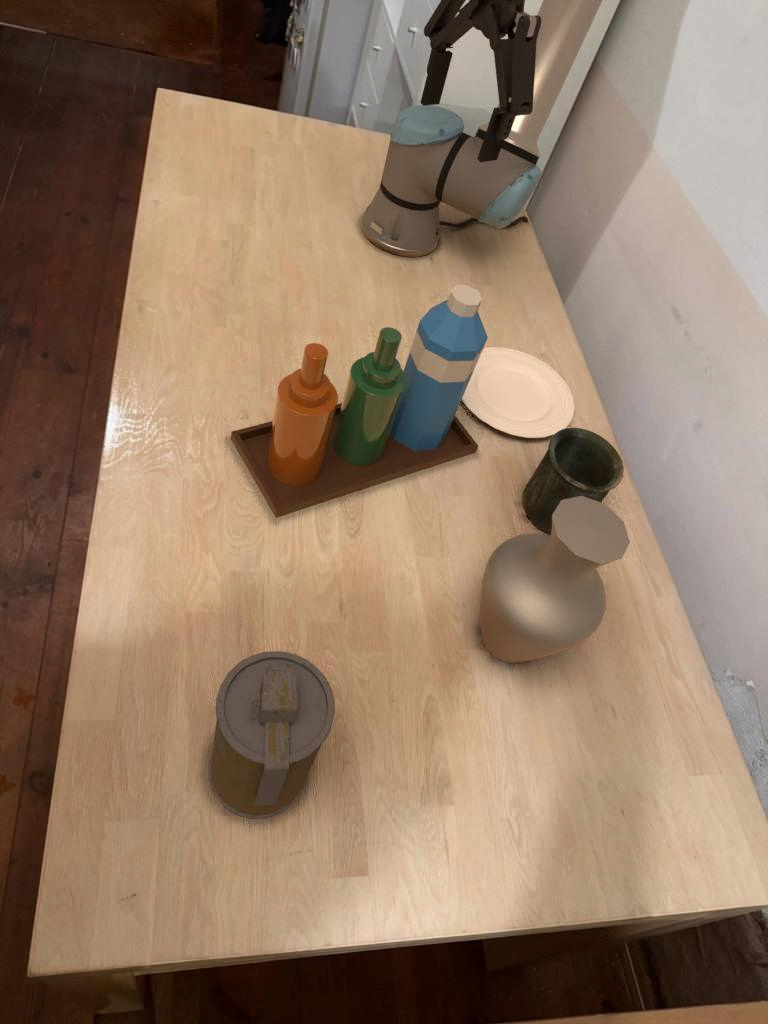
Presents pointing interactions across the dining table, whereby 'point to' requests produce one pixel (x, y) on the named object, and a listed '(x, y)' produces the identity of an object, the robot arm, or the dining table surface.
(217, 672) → the dining table surface
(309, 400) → the amber bottle
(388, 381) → the green bottle
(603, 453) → the mug
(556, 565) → the vase
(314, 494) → the tray
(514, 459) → the dining table surface
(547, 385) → the plate
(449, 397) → the water bottle
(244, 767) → the canister
